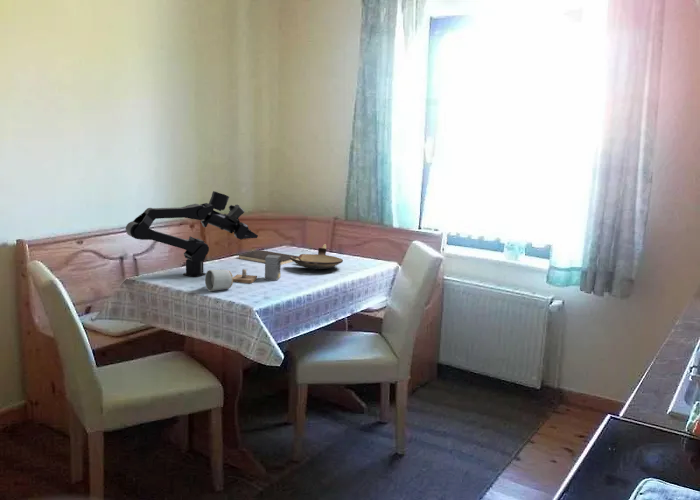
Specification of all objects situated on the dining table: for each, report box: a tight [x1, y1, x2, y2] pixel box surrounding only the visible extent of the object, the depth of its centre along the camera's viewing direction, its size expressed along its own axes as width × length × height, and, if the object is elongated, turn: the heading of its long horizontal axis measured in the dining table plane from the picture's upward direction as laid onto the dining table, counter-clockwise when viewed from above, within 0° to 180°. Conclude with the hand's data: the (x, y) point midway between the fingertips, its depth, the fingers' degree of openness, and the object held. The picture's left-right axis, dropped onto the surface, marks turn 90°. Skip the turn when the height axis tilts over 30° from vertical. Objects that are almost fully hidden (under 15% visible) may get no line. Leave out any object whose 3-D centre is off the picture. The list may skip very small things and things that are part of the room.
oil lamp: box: [290, 243, 344, 270], centre depth 290 cm, size 22×30×8 cm
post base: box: [232, 268, 258, 284], centre depth 261 cm, size 8×8×4 cm
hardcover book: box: [237, 249, 299, 266], centre depth 303 cm, size 16×23×2 cm
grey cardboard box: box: [264, 255, 282, 281], centre depth 265 cm, size 6×5×9 cm
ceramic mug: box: [204, 269, 234, 292], centre depth 246 cm, size 11×8×8 cm
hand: (253, 234), depth 276 cm, fingers open, 9 cm apart
